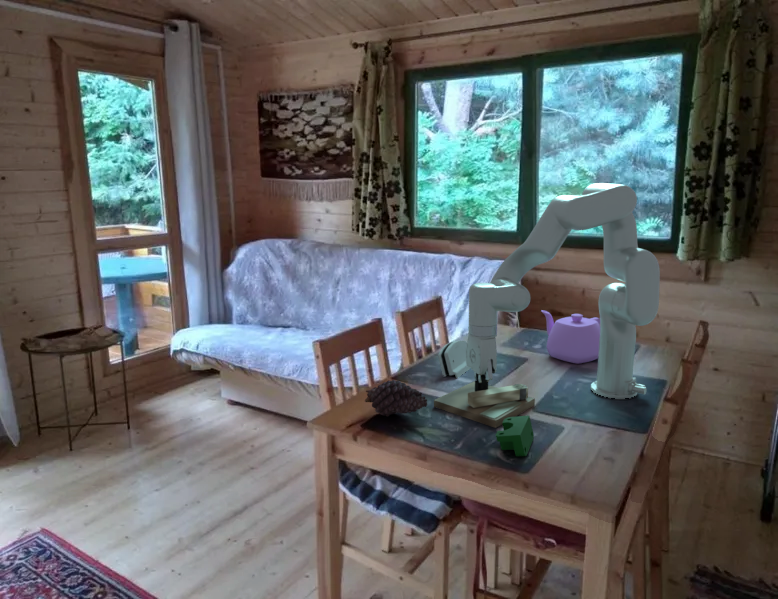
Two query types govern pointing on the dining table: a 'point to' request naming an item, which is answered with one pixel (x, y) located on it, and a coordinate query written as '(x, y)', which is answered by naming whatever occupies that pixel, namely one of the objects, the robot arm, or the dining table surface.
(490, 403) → the folding leg
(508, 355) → the dining table surface
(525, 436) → the clamp
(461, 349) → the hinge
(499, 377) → the dining table surface
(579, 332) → the teapot
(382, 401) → the pine cone
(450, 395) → the stool seat
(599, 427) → the dining table surface
